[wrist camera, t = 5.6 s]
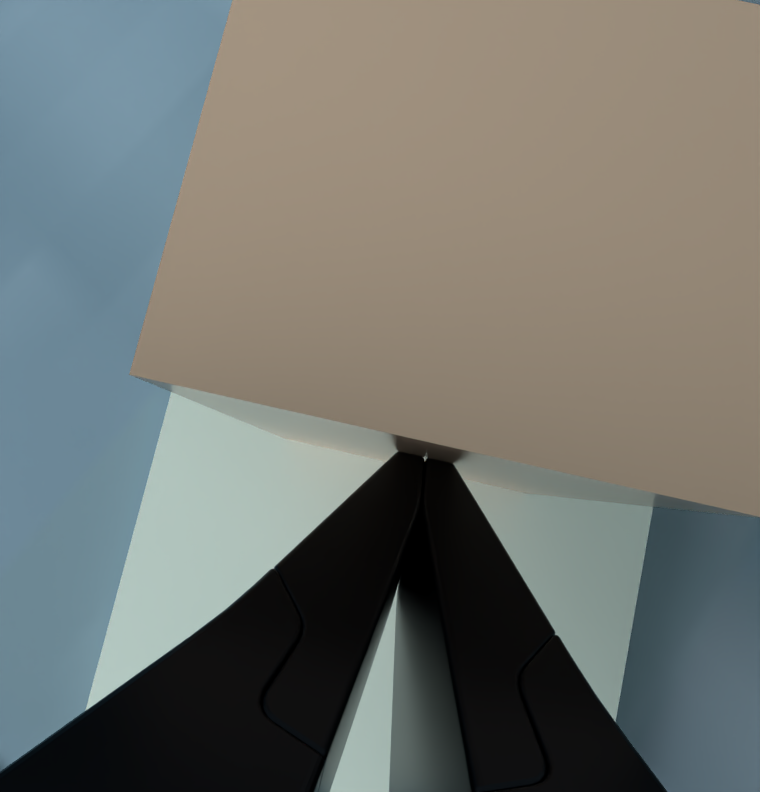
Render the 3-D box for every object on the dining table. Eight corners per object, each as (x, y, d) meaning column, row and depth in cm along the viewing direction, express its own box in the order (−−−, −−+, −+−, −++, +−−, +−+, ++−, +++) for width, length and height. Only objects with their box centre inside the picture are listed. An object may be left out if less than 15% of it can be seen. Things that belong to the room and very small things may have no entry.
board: (571, 828, 16) (643, 958, 12) (105, 715, 17) (4, 801, 12) (691, 157, 19) (790, 55, 14) (277, 68, 19) (244, -59, 14)
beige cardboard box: (526, 493, 16) (769, 518, 6) (284, 438, 16) (129, 374, 6) (564, 296, 17) (843, 21, 7) (331, 244, 17) (259, -98, 7)
